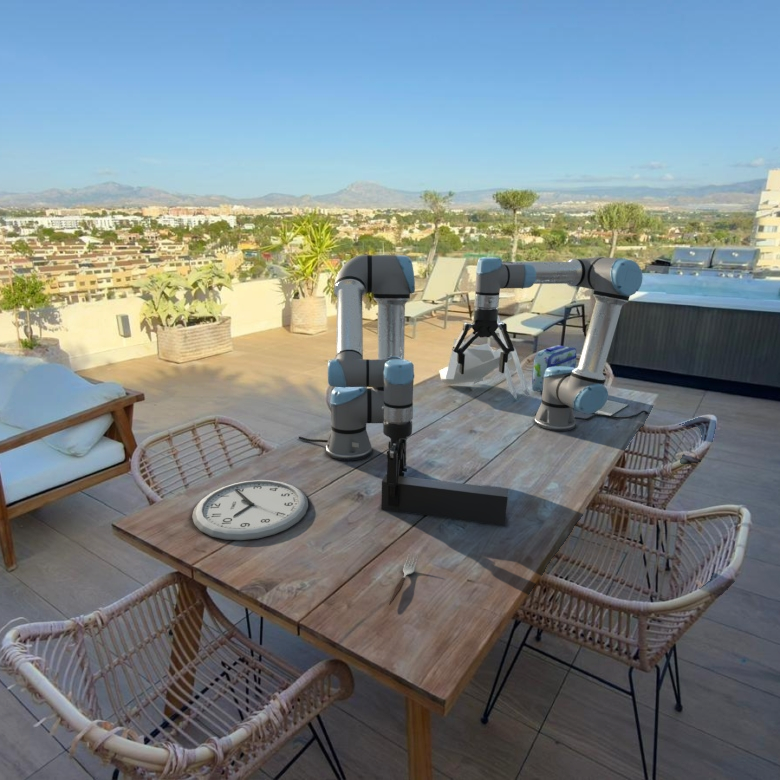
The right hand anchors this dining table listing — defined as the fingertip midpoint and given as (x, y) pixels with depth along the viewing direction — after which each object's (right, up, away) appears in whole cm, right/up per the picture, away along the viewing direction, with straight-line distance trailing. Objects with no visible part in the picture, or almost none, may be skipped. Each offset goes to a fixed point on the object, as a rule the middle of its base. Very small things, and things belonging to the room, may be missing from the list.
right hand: (481, 372), depth 172 cm
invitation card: (+61, -13, +55) cm, 83 cm away
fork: (-28, -47, -60) cm, 81 cm away
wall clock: (-67, -38, -31) cm, 83 cm away
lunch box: (+47, -6, +76) cm, 90 cm away
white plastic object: (+12, -7, +72) cm, 73 cm away
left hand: (-28, -35, -30) cm, 54 cm away
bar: (-16, -39, -32) cm, 53 cm away
